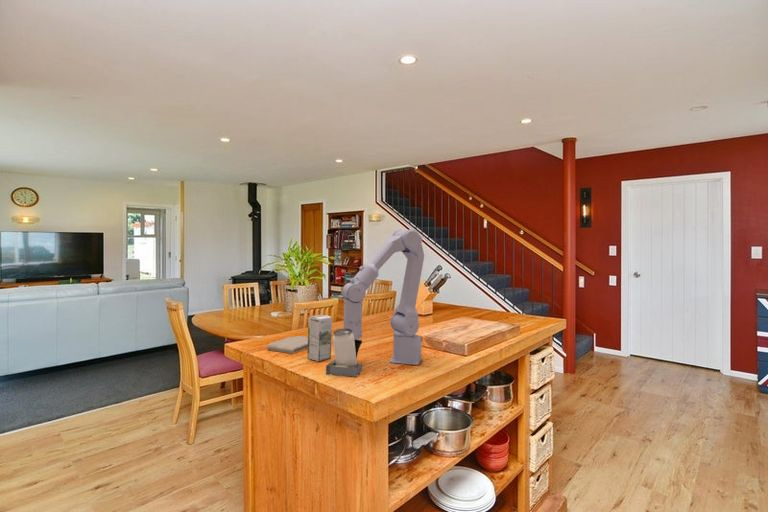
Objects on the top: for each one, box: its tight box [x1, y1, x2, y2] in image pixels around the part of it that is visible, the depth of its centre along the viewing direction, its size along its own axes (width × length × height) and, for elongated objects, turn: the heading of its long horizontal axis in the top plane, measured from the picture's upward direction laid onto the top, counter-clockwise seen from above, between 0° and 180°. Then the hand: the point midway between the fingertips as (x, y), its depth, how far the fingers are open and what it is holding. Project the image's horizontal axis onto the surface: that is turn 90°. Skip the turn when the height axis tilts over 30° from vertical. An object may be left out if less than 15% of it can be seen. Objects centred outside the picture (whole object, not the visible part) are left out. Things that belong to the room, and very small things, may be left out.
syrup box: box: [306, 314, 333, 362], centre depth 133 cm, size 6×6×14 cm
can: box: [332, 327, 358, 367], centre depth 120 cm, size 6×6×12 cm
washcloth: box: [266, 335, 308, 355], centre depth 148 cm, size 12×18×3 cm, turn 155°
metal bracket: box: [325, 358, 363, 378], centre depth 125 cm, size 9×20×3 cm, turn 166°
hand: (351, 363), depth 124 cm, fingers closed, pressing on can
